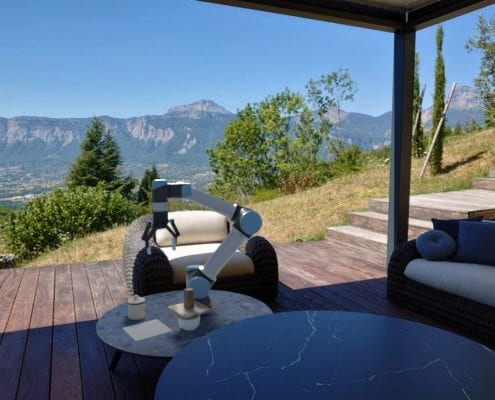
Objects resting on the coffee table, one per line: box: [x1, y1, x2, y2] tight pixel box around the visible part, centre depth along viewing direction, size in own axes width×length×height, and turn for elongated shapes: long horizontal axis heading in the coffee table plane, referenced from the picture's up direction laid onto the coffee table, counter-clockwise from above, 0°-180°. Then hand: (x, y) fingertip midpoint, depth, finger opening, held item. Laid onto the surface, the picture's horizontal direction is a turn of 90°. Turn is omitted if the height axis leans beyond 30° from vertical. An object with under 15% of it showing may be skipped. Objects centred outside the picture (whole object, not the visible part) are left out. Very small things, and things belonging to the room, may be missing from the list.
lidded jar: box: [177, 314, 201, 332], centre depth 196 cm, size 11×11×9 cm
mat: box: [121, 318, 173, 342], centre depth 196 cm, size 18×18×1 cm
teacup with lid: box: [126, 294, 147, 321], centre depth 212 cm, size 12×9×12 cm
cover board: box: [167, 288, 212, 319], centre depth 195 cm, size 15×15×10 cm
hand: (161, 252), depth 207 cm, fingers open, 13 cm apart
